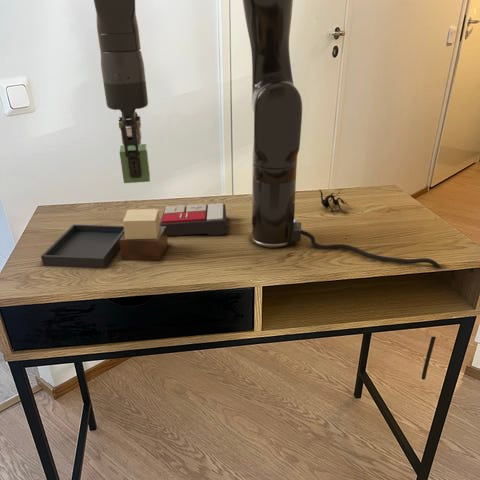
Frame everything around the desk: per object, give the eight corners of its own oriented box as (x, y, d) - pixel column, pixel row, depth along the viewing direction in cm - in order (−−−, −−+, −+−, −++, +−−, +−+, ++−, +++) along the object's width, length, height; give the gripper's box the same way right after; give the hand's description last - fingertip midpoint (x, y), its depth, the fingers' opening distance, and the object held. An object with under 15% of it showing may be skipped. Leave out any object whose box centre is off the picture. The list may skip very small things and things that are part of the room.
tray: (129, 234, 116) (128, 226, 115) (104, 267, 102) (103, 258, 101) (74, 232, 118) (73, 224, 117) (43, 265, 103) (40, 256, 102)
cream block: (160, 226, 109) (158, 209, 106) (157, 238, 103) (155, 220, 101) (130, 227, 108) (127, 209, 106) (125, 239, 103) (122, 221, 101)
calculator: (164, 204, 123) (224, 200, 122) (166, 221, 125) (226, 217, 125) (158, 221, 113) (224, 216, 113) (161, 238, 116) (226, 234, 115)
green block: (149, 174, 102) (146, 143, 99) (149, 181, 98) (146, 150, 94) (124, 175, 101) (120, 145, 98) (123, 183, 97) (119, 151, 94)
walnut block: (168, 245, 111) (166, 226, 109) (159, 261, 104) (157, 241, 102) (133, 244, 112) (130, 225, 110) (122, 259, 105) (119, 239, 103)
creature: (338, 206, 134) (312, 203, 131) (344, 187, 131) (318, 183, 128) (353, 217, 128) (325, 214, 125) (359, 196, 125) (332, 193, 122)
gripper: (145, 83, 84) (156, 183, 93) (145, 73, 96) (155, 162, 105) (99, 85, 83) (115, 185, 93) (105, 74, 95) (119, 164, 104)
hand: (136, 172), depth 99 cm, fingers closed on green block, 5 cm apart
